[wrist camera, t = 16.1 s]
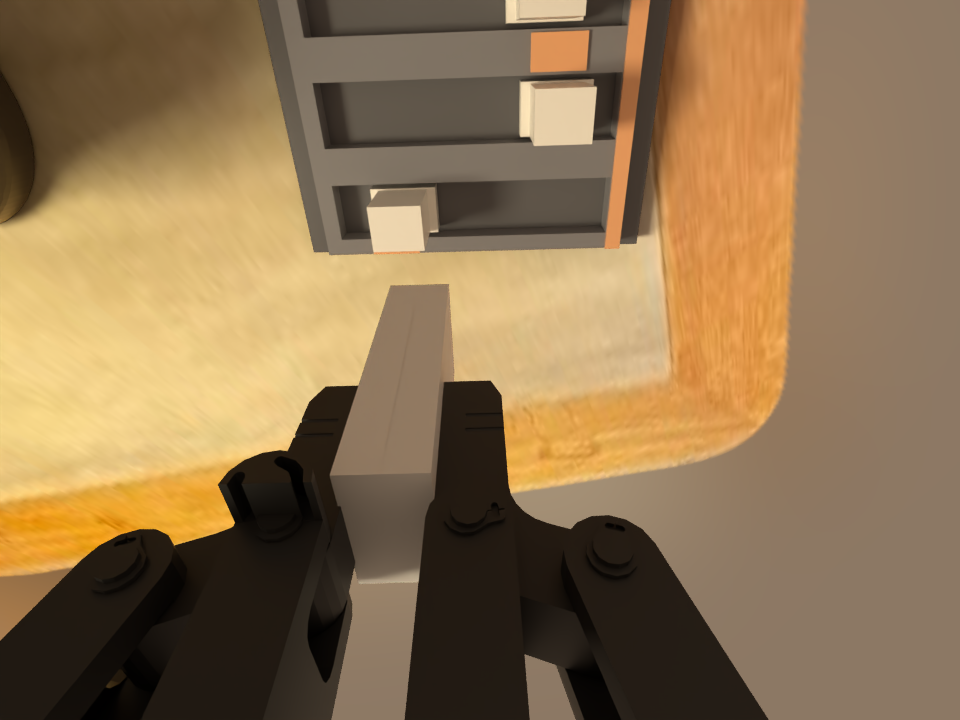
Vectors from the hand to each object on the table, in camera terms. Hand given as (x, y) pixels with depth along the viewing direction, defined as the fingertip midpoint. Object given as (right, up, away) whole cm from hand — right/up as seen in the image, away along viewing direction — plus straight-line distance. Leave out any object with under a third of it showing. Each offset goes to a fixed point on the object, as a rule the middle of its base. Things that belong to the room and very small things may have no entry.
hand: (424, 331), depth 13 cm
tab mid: (+6, +14, +16) cm, 22 cm away
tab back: (-3, +9, +19) cm, 21 cm away
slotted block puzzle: (+1, +15, +17) cm, 22 cm away
